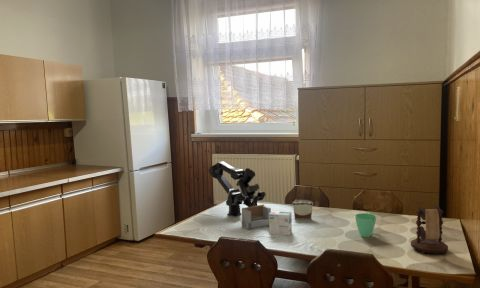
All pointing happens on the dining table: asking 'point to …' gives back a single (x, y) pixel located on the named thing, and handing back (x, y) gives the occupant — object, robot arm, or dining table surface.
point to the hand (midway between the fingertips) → (255, 210)
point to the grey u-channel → (255, 219)
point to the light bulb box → (280, 223)
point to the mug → (365, 223)
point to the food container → (302, 209)
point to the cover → (255, 211)
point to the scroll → (429, 231)
